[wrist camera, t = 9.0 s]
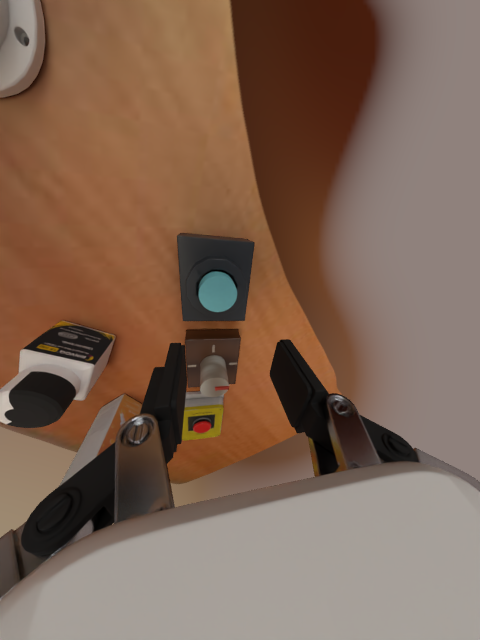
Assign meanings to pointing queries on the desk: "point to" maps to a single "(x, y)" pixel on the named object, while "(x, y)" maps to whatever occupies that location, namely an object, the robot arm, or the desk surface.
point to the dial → (213, 376)
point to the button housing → (208, 257)
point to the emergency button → (202, 416)
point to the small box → (103, 431)
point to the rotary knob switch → (211, 351)
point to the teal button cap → (217, 291)
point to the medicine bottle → (54, 374)
